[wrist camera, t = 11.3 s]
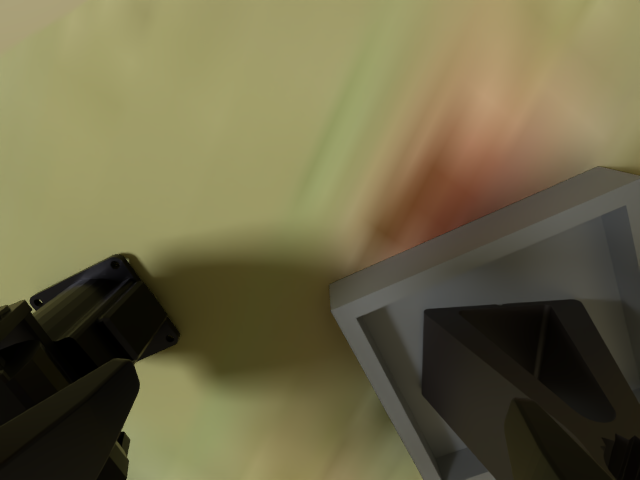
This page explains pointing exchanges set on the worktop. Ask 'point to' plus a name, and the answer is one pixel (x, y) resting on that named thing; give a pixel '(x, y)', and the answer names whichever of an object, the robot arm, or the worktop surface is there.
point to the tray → (496, 296)
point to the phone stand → (529, 379)
